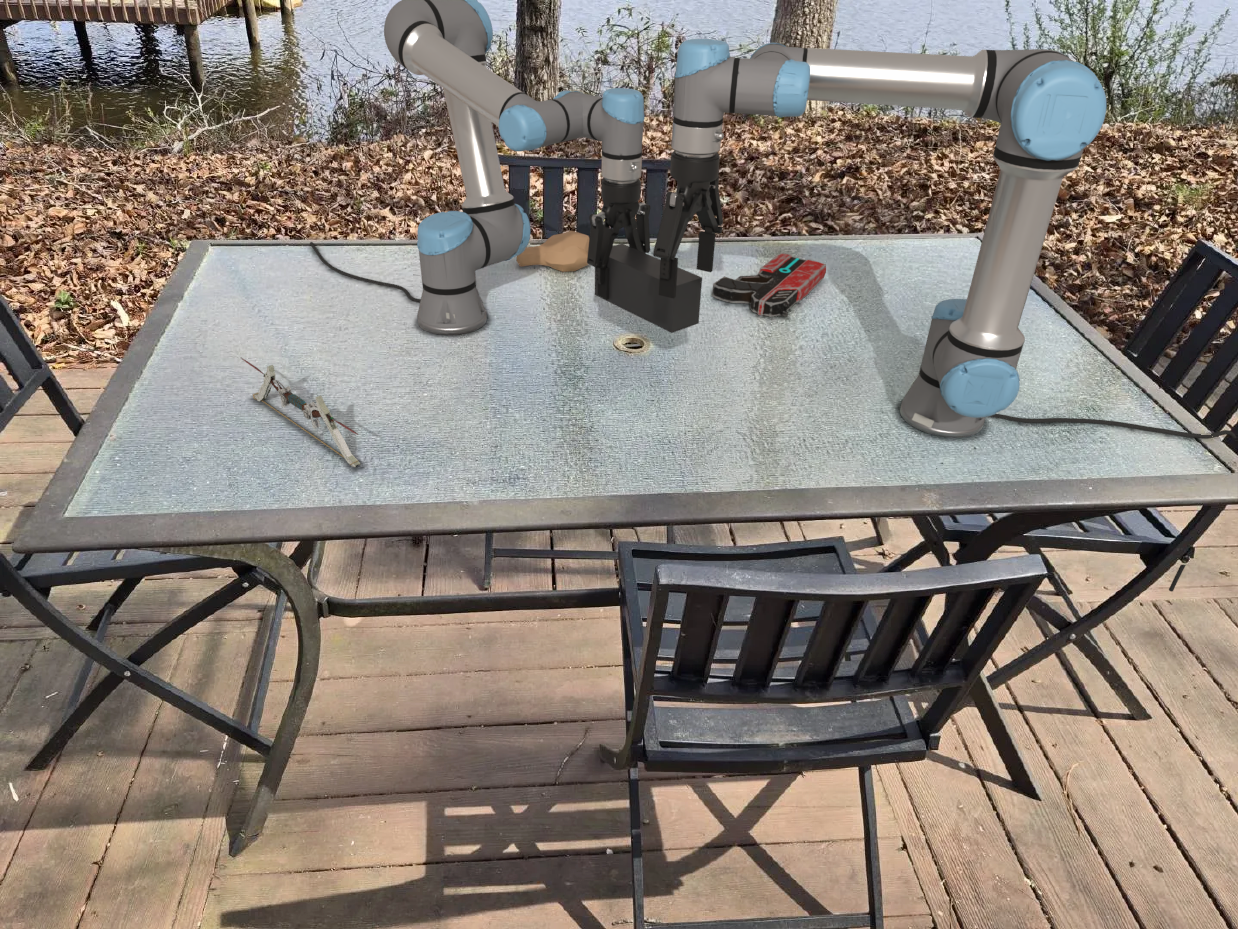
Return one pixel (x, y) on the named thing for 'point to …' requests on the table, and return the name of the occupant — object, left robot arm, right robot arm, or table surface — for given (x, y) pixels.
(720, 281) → the gun
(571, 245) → the squash
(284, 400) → the bow
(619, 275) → the box
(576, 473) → the table surface
